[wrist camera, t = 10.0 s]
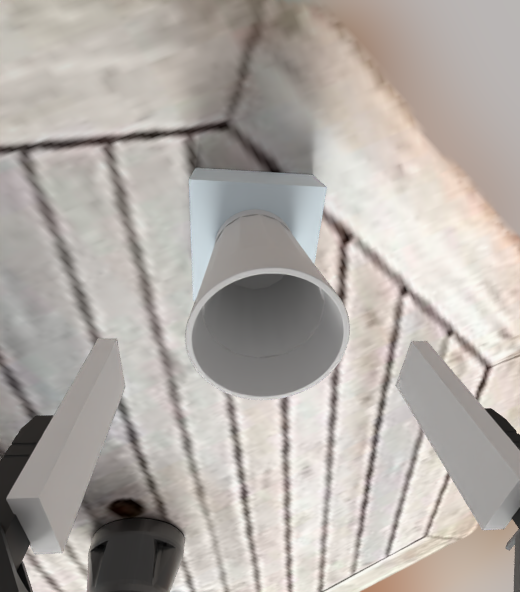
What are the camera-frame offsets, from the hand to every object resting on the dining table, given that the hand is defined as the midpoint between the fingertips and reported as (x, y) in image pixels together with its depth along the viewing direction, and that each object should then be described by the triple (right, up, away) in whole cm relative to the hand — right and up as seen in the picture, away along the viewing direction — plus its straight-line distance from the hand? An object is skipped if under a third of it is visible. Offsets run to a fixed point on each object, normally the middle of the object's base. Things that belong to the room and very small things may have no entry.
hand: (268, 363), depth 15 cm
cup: (-1, +7, +12) cm, 14 cm away
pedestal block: (-1, +9, +16) cm, 18 cm away
